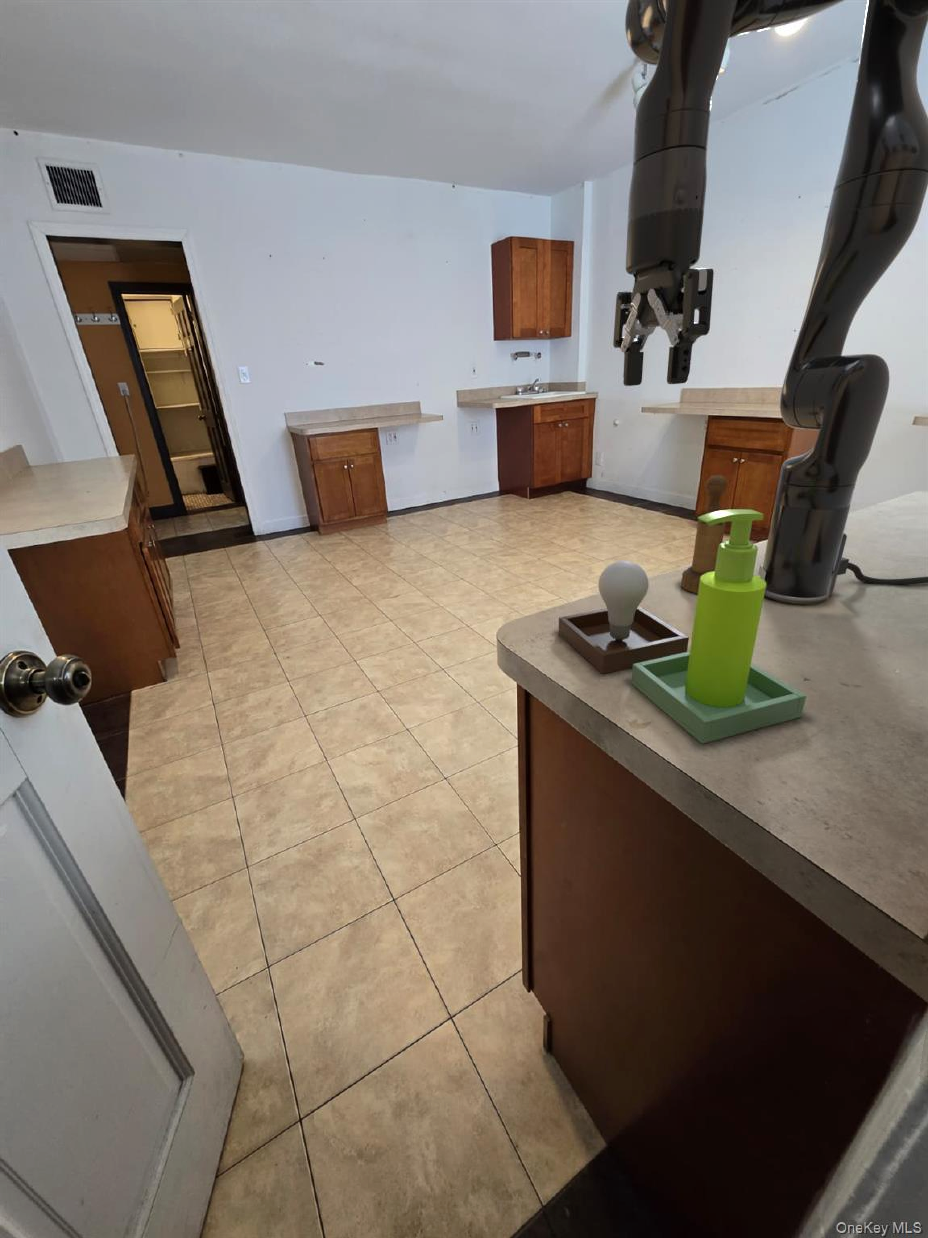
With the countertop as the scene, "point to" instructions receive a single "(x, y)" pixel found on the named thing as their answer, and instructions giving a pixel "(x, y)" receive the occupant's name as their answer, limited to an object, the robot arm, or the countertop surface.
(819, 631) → the countertop surface
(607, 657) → the walnut tray
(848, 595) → the countertop surface
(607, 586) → the lightbulb
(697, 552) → the wooden pepper mill
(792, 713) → the green tray
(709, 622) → the soap dispenser
